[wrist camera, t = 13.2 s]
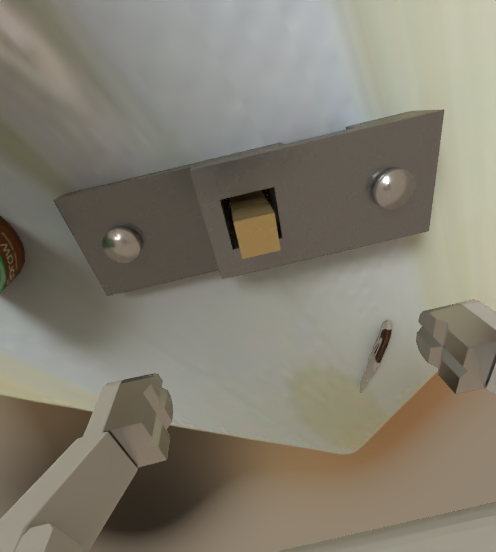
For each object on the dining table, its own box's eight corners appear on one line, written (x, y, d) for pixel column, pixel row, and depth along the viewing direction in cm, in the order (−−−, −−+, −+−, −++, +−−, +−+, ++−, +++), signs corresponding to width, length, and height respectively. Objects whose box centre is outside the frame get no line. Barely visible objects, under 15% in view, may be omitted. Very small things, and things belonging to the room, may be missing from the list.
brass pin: (236, 224, 28) (242, 259, 21) (229, 195, 27) (233, 222, 20) (264, 217, 28) (280, 250, 21) (259, 188, 27) (274, 212, 20)
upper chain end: (221, 260, 30) (222, 284, 26) (193, 163, 25) (188, 172, 21) (403, 217, 30) (436, 234, 25) (412, 110, 25) (453, 109, 20)
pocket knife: (382, 317, 37) (390, 327, 35) (388, 317, 37) (397, 327, 35) (354, 387, 43) (359, 398, 42) (359, 387, 43) (365, 398, 42)
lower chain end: (113, 285, 30) (103, 301, 28) (64, 194, 25) (47, 203, 23) (293, 243, 30) (301, 255, 27) (280, 142, 25) (287, 145, 22)
